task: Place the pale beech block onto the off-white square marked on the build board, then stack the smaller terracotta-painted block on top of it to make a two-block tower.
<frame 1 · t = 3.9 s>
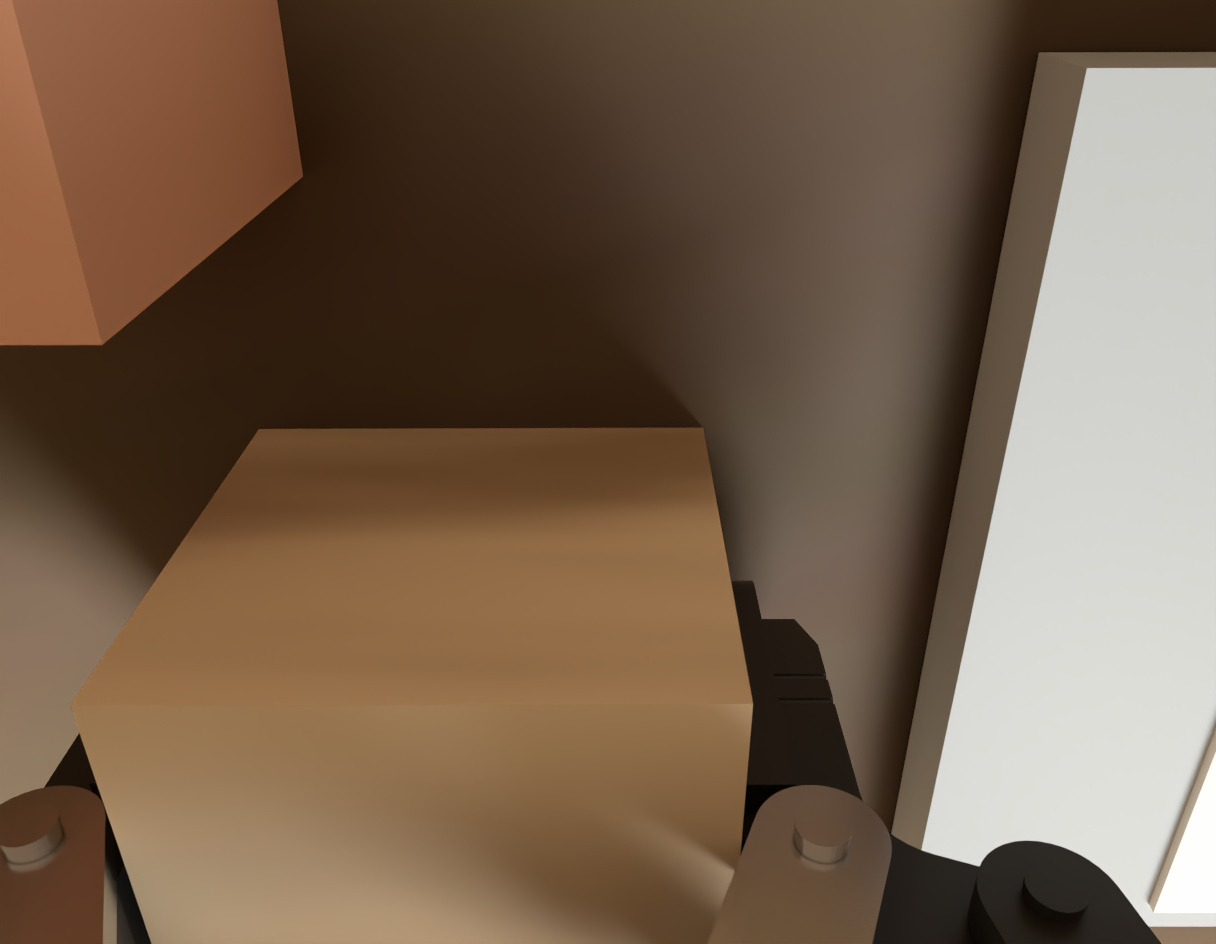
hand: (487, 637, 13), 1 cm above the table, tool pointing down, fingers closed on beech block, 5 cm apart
beech block: (494, 608, 14), on the table, touching gripper
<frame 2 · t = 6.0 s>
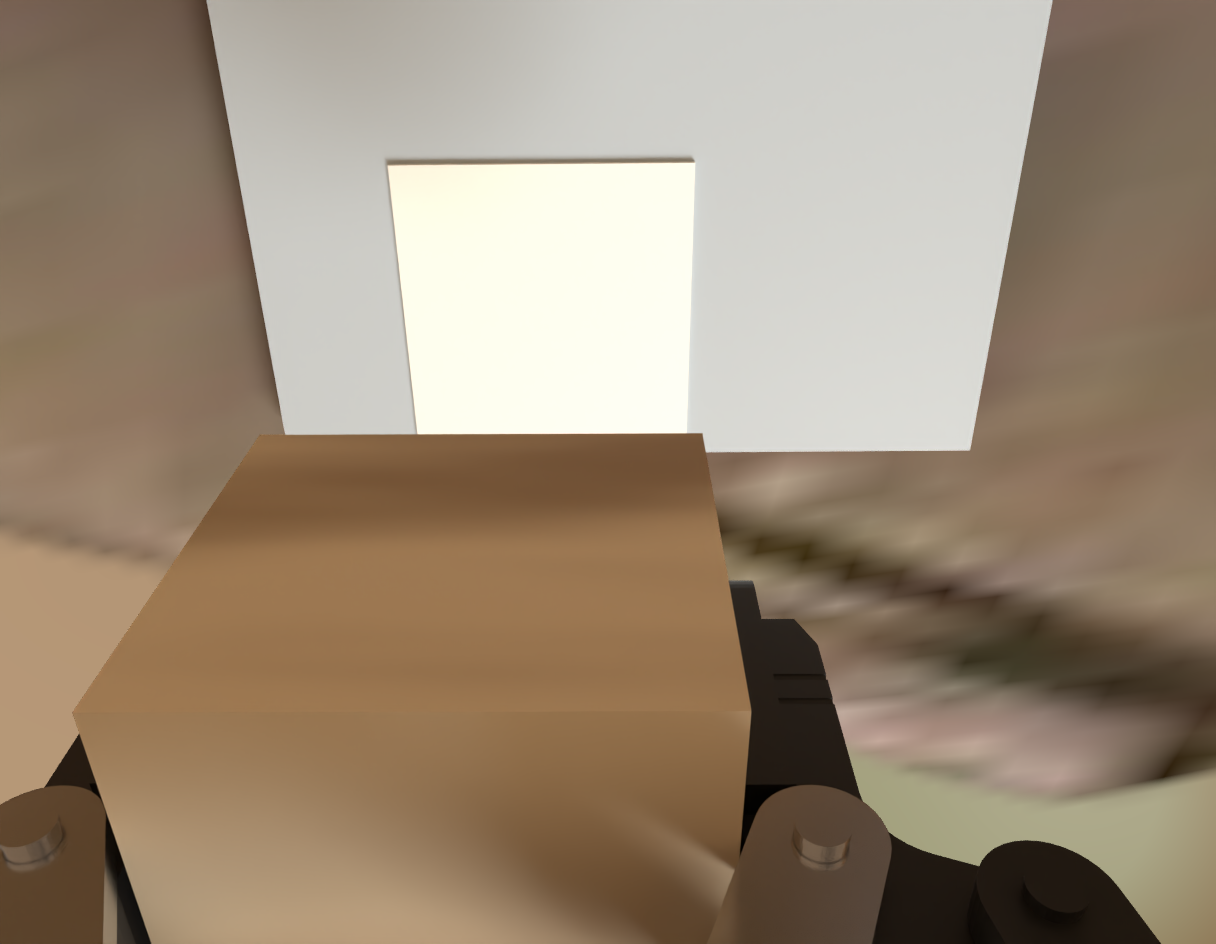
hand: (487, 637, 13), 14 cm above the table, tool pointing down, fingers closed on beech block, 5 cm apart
beech block: (494, 613, 14), point 14 cm above the table, touching gripper
build board: (628, 214, 25), on the table
when the fingers open (3 cm above the table, at t = 8.5 s): beech block stays where it is, resting on build board.
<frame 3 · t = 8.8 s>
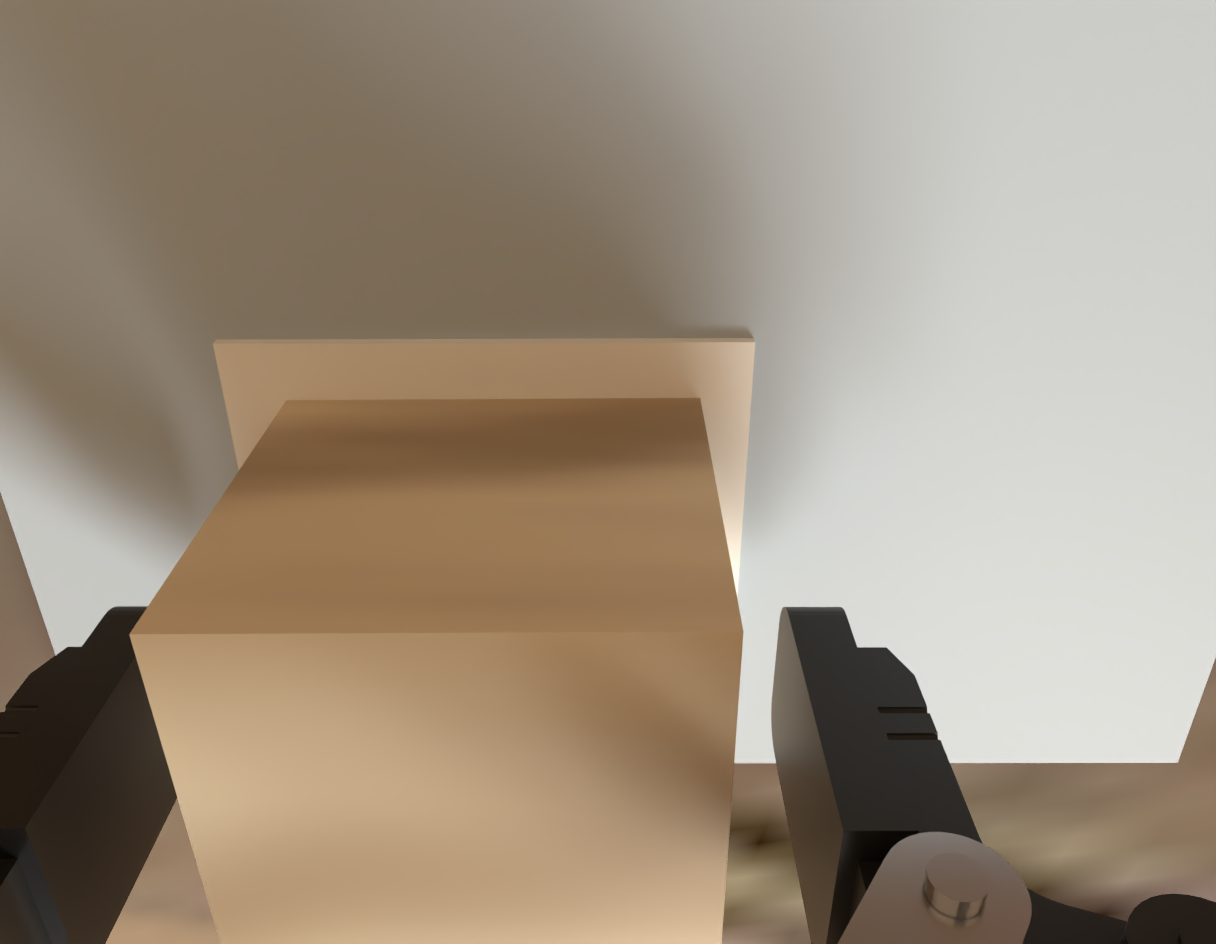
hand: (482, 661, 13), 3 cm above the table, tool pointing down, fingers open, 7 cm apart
beech block: (504, 570, 15), point 1 cm above the table, touching build board
build board: (635, 404, 15), on the table
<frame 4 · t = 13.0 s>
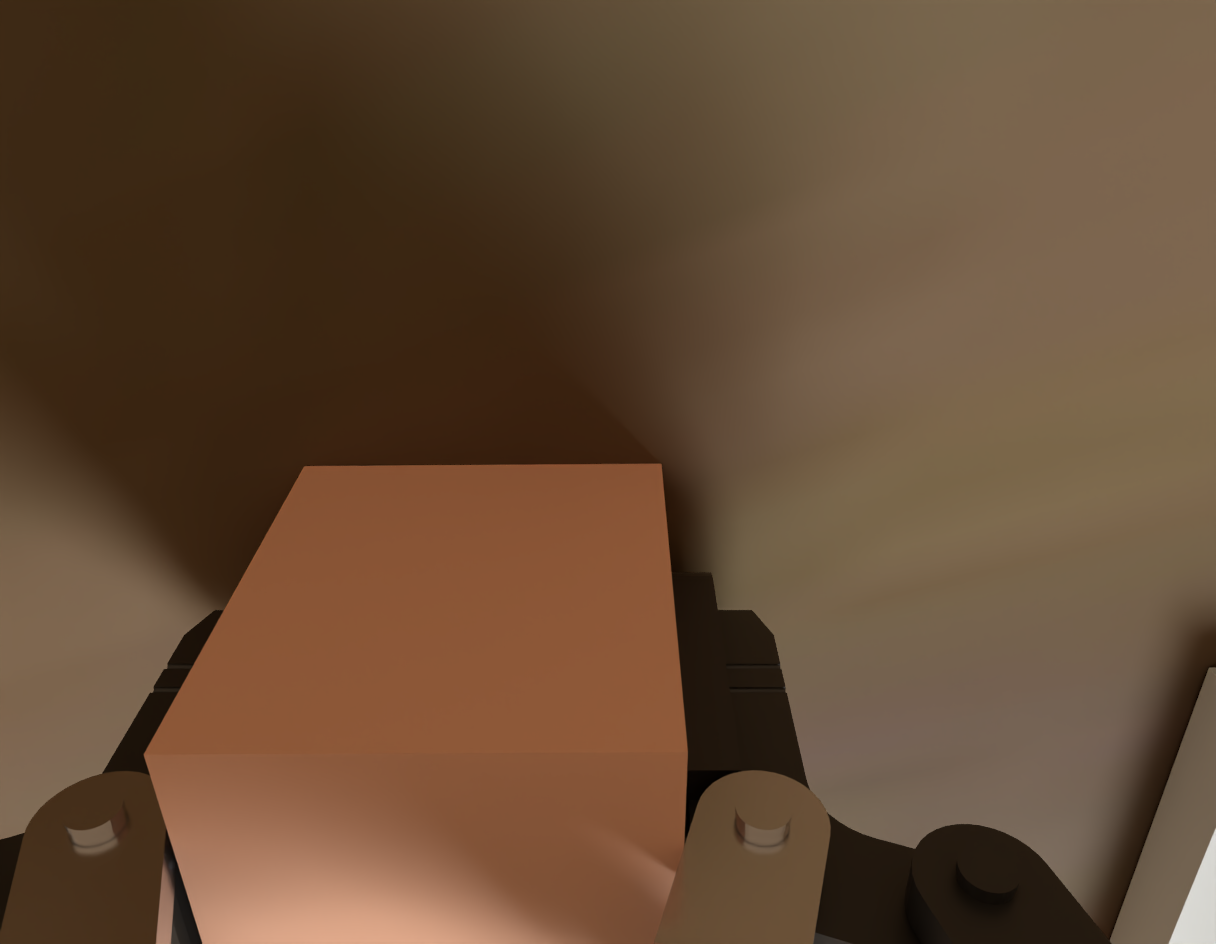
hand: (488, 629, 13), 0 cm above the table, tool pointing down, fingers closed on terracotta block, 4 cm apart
terracotta block: (494, 609, 14), on the table, touching gripper
when the fingers open (8 cm above the table, at t = 17.2 s): terracotta block stays where it is, resting on beech block.
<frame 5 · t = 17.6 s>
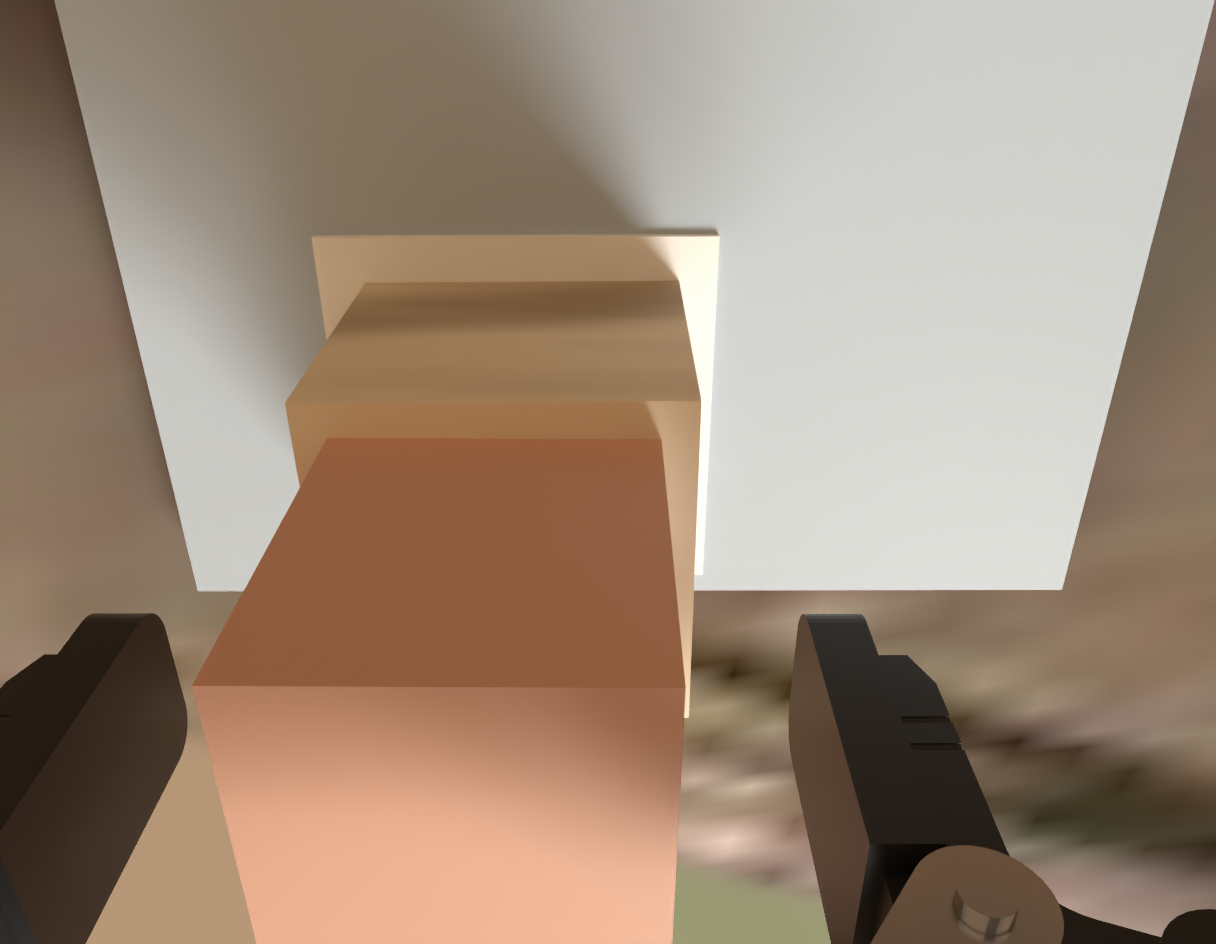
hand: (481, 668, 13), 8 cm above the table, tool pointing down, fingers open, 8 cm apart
beech block: (529, 422, 19), point 1 cm above the table, touching build board, terracotta block
terracotta block: (502, 576, 15), point 6 cm above the table, touching beech block
build board: (630, 294, 19), on the table
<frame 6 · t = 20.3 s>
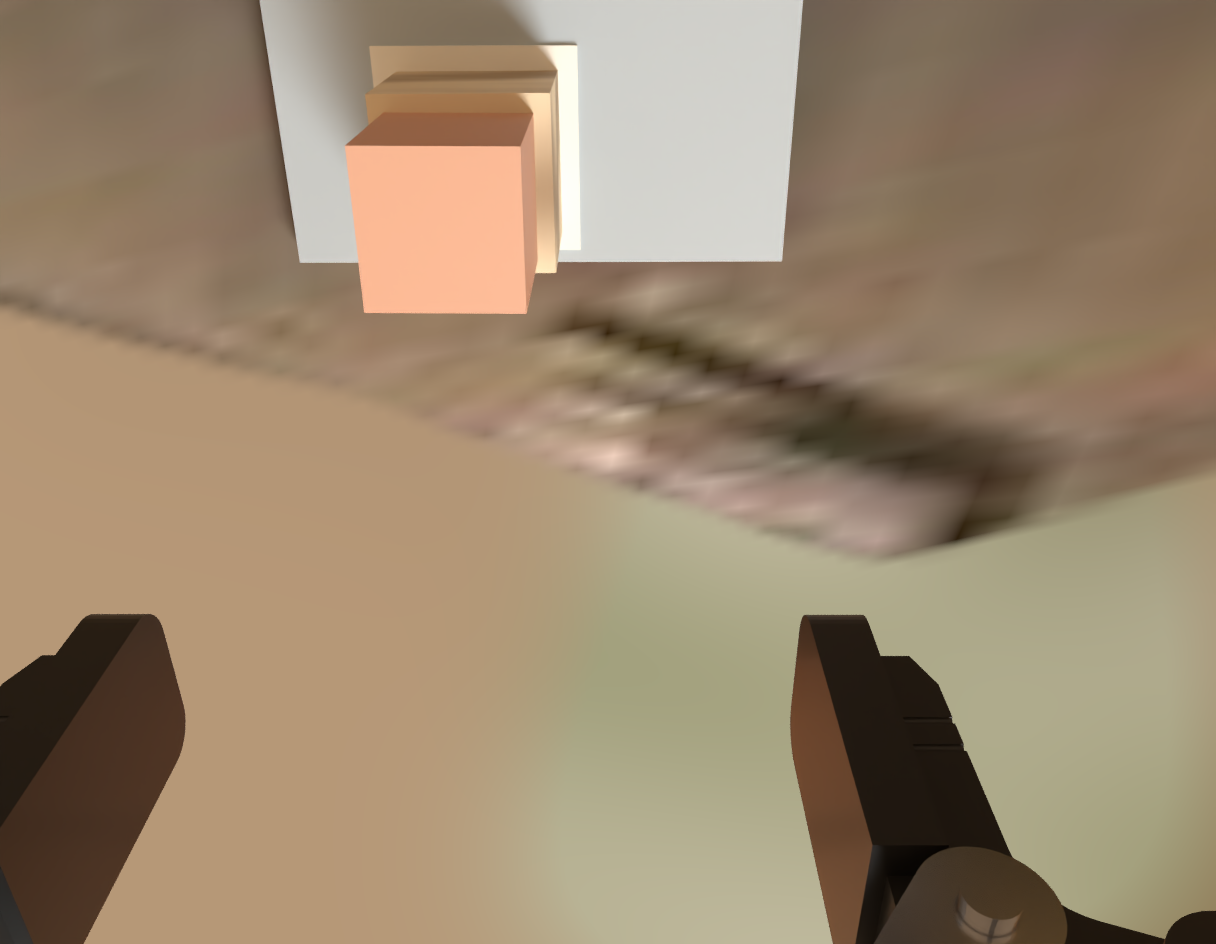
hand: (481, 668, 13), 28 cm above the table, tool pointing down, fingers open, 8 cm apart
beech block: (482, 154, 36), point 1 cm above the table, touching build board, terracotta block
terracotta block: (463, 188, 31), point 6 cm above the table, touching beech block
build board: (536, 86, 36), on the table
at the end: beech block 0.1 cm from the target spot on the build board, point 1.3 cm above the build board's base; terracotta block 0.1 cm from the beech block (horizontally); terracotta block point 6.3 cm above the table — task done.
